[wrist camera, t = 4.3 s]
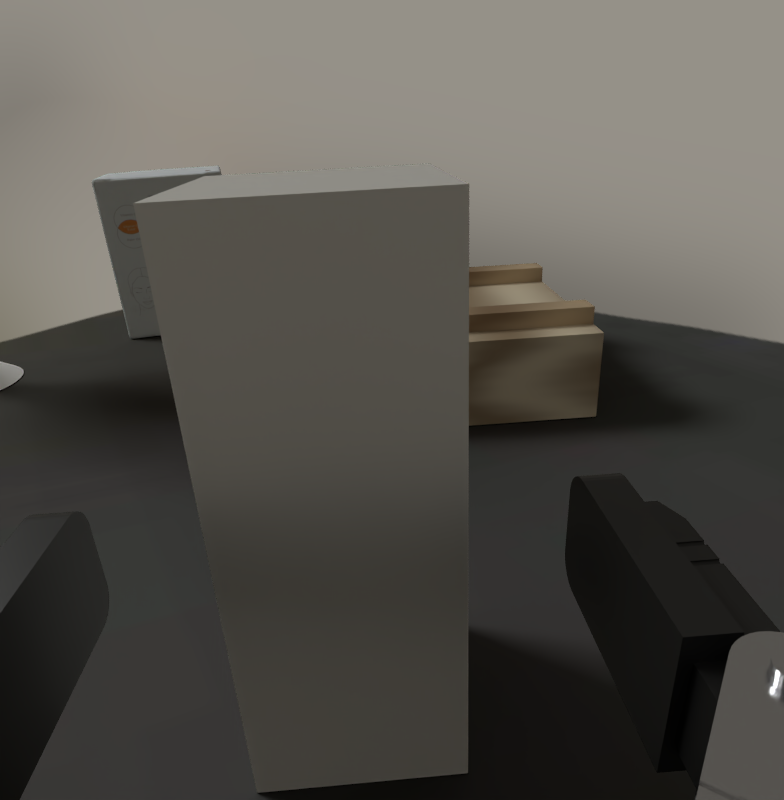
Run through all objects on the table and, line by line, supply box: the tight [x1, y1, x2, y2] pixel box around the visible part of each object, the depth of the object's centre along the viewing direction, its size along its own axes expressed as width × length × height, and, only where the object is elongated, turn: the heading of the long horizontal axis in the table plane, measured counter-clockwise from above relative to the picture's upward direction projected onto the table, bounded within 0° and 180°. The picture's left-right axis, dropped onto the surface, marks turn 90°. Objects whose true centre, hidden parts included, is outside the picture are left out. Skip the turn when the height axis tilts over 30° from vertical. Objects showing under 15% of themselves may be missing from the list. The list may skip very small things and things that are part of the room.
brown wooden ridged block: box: [469, 263, 604, 426], centre depth 33 cm, size 10×12×5 cm
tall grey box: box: [133, 164, 469, 793], centre depth 13 cm, size 5×4×12 cm
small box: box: [92, 166, 222, 339], centre depth 44 cm, size 8×6×10 cm
